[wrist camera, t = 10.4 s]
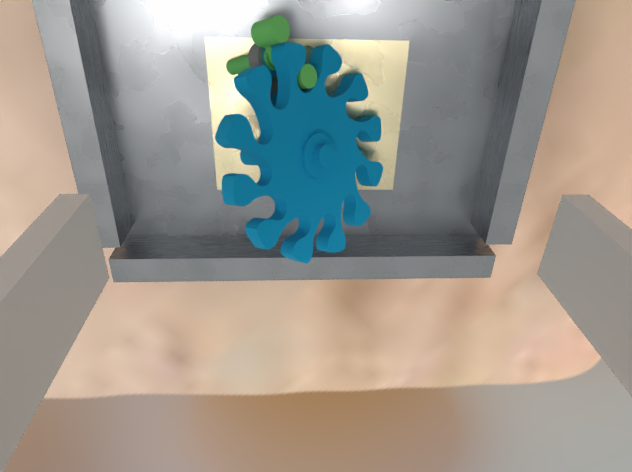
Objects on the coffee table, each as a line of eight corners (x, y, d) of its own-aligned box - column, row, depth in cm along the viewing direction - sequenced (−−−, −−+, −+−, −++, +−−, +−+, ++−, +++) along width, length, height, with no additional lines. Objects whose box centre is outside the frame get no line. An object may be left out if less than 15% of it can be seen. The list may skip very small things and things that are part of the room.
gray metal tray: (55, -77, 22) (11, -85, 18) (546, -61, 23) (592, -66, 20) (121, 245, 30) (100, 282, 27) (478, 242, 31) (502, 277, 28)
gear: (405, 215, 26) (274, 305, 20) (327, 207, 31) (198, 280, 24) (371, -3, 22) (193, 28, 16) (286, 22, 26) (119, 53, 20)
